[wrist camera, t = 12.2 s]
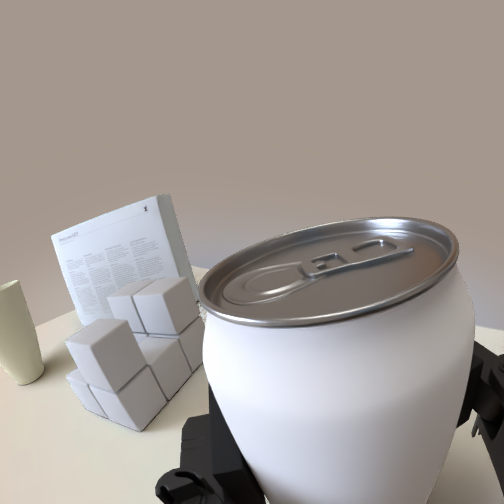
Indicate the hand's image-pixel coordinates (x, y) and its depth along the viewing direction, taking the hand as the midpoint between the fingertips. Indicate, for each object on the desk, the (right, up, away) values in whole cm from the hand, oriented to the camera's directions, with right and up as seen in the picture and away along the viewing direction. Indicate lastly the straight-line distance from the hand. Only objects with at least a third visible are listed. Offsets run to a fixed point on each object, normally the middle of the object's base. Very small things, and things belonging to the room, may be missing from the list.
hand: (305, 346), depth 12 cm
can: (+2, -7, -3) cm, 8 cm away
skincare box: (-20, -6, +31) cm, 38 cm away
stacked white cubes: (-14, -8, +14) cm, 21 cm away
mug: (-32, -12, +17) cm, 39 cm away
